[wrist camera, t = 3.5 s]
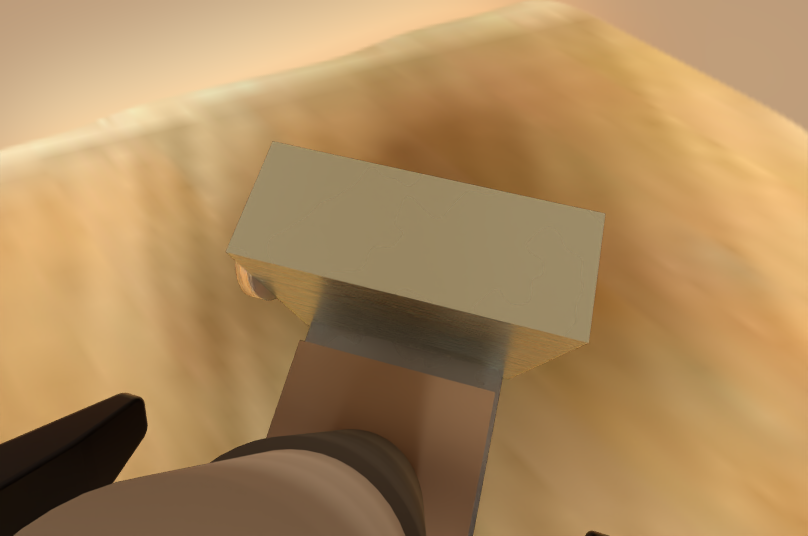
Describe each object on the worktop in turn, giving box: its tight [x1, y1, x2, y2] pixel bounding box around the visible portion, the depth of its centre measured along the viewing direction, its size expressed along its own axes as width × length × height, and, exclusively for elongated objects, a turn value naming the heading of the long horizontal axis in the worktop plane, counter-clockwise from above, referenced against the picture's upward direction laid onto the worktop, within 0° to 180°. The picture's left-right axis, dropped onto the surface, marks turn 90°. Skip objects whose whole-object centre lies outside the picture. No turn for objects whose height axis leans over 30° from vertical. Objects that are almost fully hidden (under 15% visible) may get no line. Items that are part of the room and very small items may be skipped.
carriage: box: [14, 340, 495, 536], centre depth 8 cm, size 7×6×12 cm
